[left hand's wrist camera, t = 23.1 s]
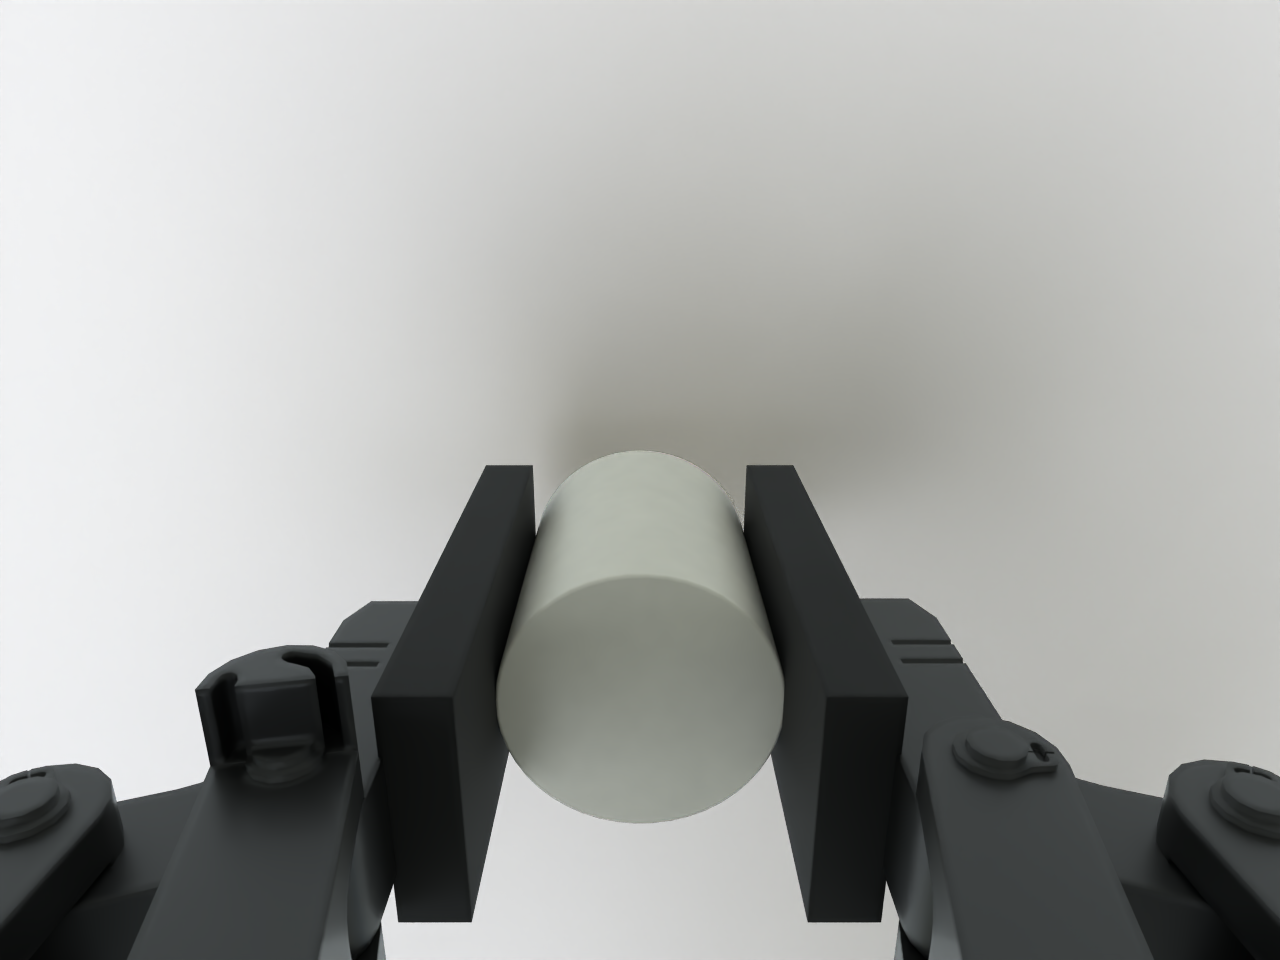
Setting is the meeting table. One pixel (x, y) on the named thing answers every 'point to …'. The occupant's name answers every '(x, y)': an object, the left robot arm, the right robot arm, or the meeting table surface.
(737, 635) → the canister
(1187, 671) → the meeting table surface
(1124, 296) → the meeting table surface
